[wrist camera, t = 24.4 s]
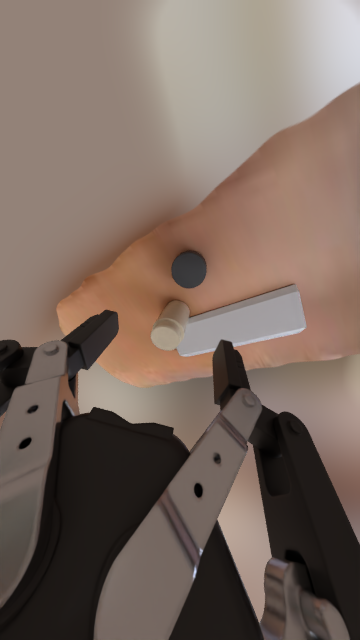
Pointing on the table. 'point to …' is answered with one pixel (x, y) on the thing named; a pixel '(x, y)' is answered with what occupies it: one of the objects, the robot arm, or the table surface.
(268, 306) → the crown molding
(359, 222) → the table surface
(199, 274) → the jar lid
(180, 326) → the coffee jar
